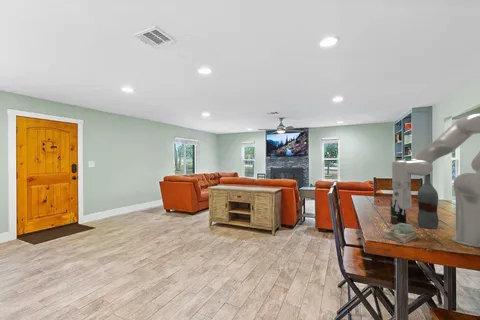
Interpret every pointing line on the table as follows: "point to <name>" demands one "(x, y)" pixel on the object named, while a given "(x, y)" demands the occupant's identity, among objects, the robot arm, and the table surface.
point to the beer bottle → (394, 215)
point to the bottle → (403, 228)
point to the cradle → (399, 235)
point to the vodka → (427, 205)
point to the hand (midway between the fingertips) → (401, 222)
